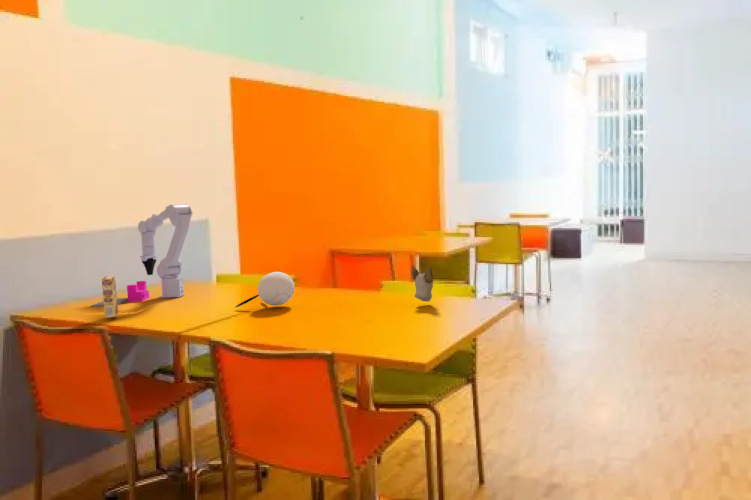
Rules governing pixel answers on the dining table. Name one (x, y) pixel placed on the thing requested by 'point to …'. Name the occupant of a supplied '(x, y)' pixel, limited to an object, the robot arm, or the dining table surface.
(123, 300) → the rubber mat
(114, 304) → the candy box
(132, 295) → the toy block
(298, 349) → the dining table surface
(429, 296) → the ceramic sculpture
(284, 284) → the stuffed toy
